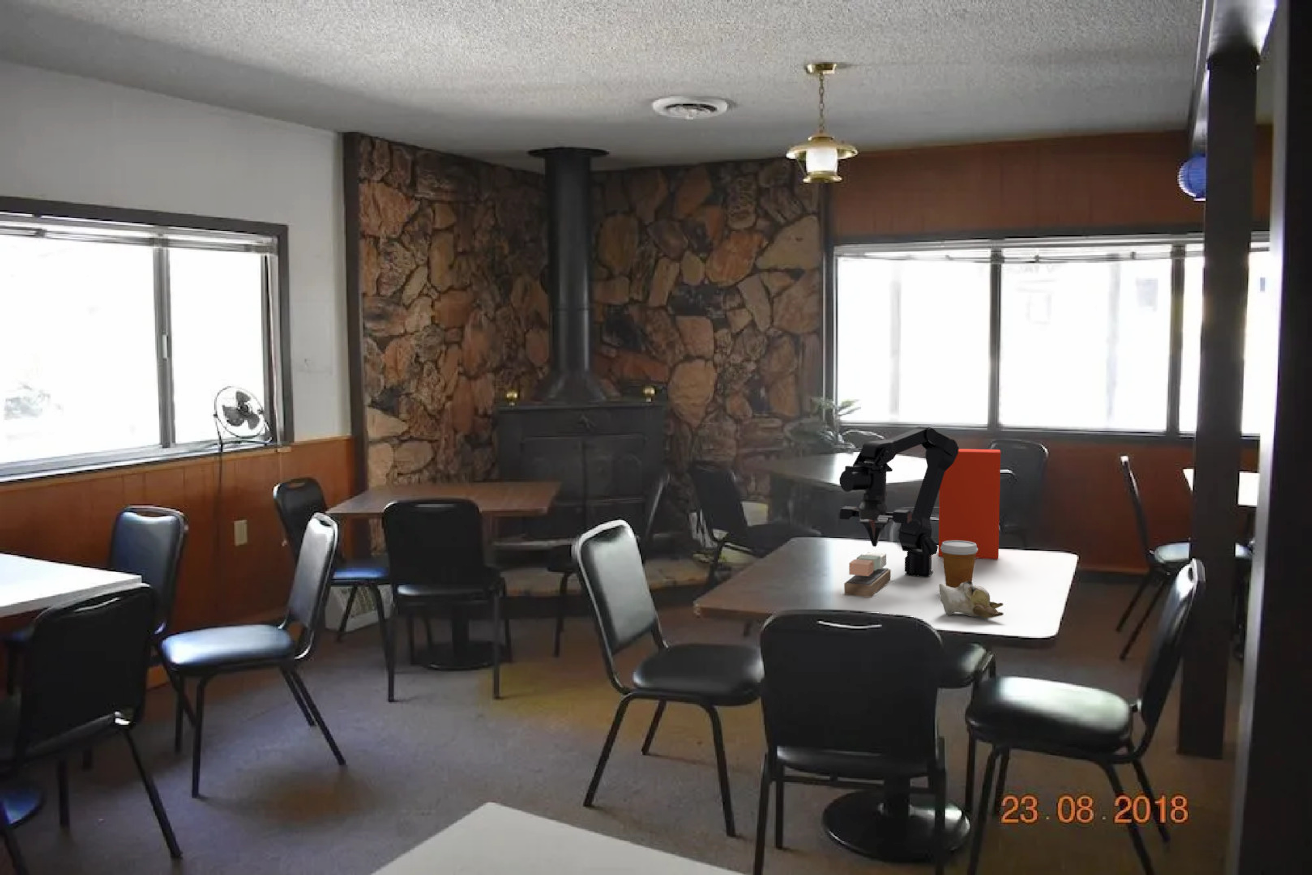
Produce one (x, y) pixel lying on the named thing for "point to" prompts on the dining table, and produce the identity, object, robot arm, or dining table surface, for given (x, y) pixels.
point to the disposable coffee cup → (958, 561)
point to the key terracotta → (861, 567)
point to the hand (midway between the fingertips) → (874, 546)
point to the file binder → (971, 501)
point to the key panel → (867, 583)
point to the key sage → (871, 558)
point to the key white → (882, 558)
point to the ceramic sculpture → (968, 600)
